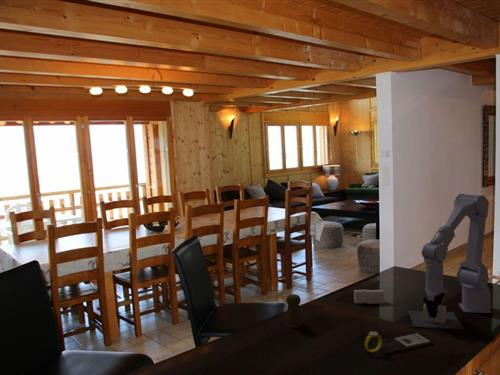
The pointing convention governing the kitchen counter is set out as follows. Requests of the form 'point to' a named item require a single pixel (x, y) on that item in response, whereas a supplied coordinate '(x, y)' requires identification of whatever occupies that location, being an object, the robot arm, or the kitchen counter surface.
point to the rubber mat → (449, 323)
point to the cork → (293, 311)
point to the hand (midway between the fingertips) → (434, 313)
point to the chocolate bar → (401, 343)
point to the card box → (439, 318)
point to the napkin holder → (369, 296)
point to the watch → (371, 334)
